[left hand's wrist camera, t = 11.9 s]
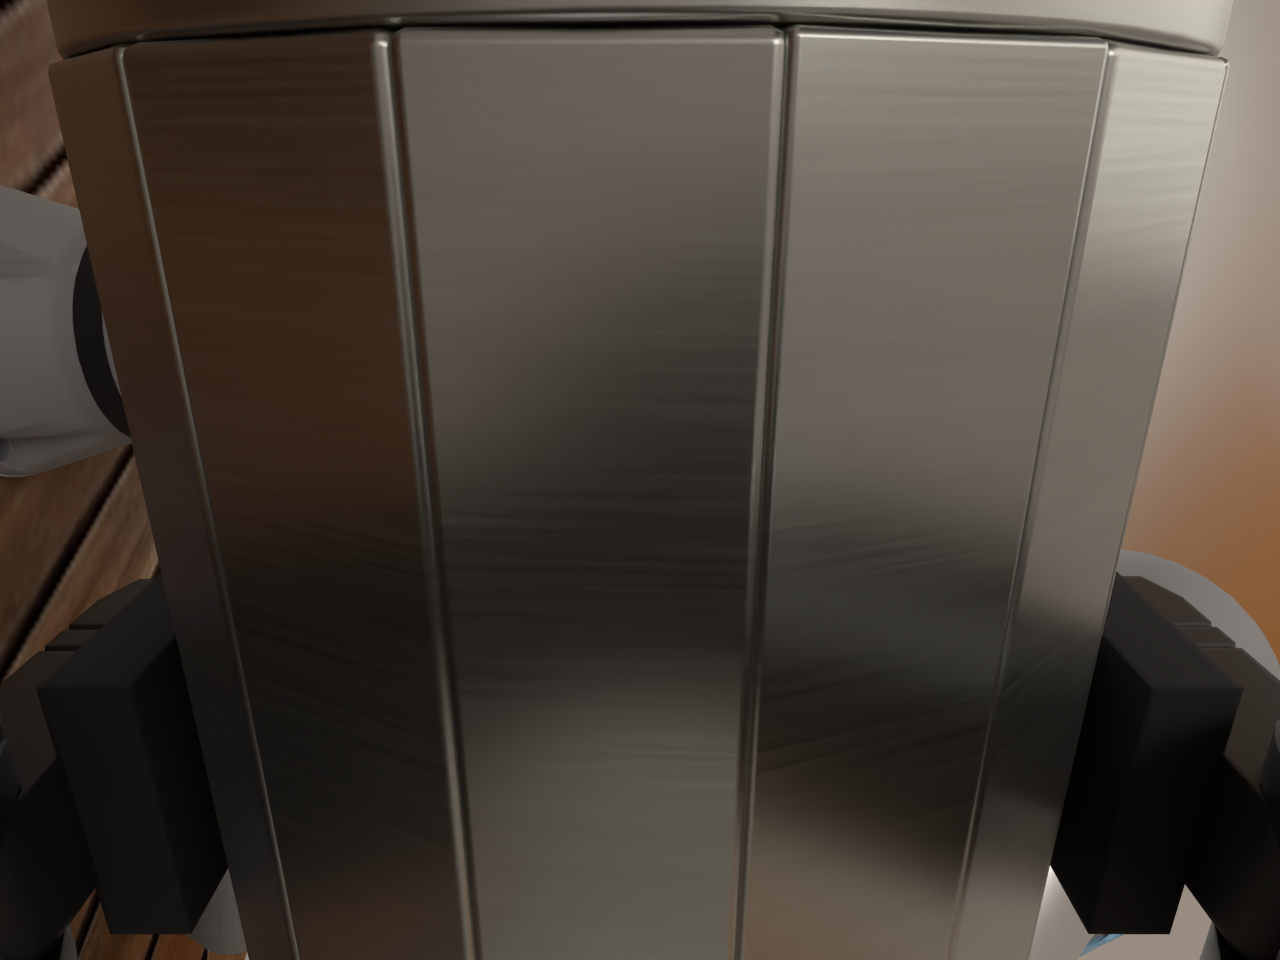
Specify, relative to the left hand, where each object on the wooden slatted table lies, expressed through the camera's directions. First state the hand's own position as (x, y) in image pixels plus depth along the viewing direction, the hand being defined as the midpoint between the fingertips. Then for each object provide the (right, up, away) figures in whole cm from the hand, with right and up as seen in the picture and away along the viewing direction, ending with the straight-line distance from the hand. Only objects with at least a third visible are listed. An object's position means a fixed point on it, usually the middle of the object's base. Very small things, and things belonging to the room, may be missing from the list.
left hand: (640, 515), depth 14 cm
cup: (0, +4, -7) cm, 8 cm away
